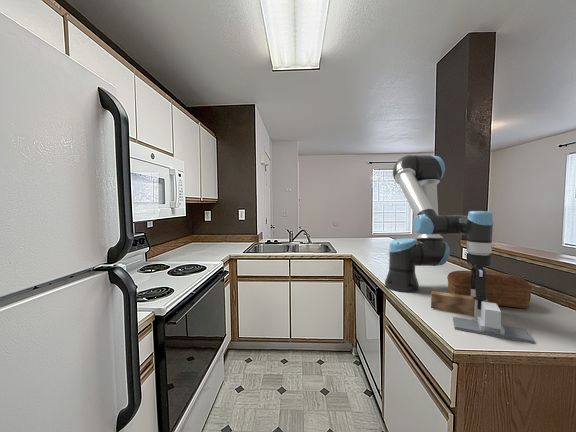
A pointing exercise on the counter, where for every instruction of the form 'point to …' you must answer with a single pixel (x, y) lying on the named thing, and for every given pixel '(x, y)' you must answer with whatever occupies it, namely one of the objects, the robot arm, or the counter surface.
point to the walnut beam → (453, 302)
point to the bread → (494, 288)
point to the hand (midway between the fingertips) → (476, 311)
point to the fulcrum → (492, 325)
